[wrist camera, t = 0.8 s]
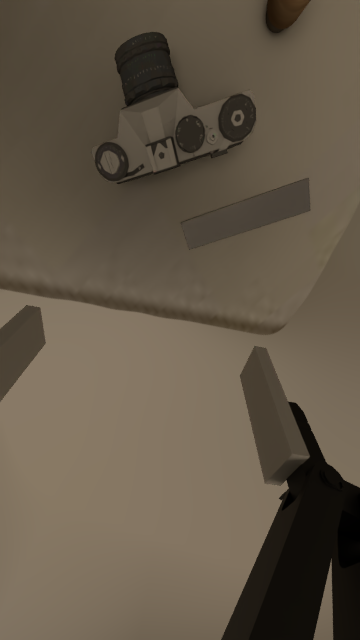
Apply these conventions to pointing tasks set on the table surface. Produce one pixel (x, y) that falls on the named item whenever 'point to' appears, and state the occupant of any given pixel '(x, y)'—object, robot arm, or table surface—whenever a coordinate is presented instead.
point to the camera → (166, 117)
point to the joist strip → (248, 214)
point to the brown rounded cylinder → (283, 13)
